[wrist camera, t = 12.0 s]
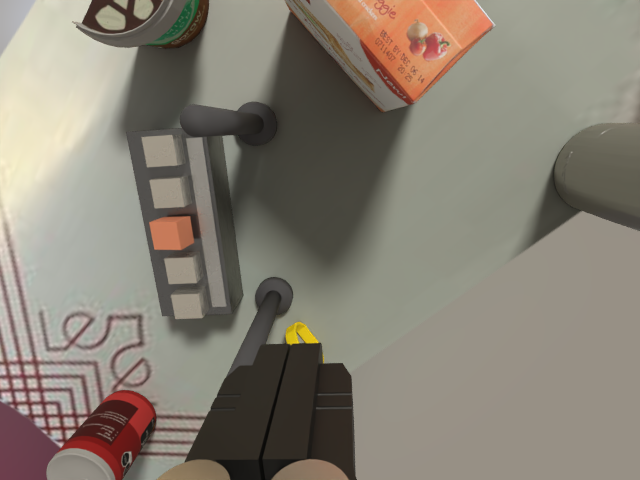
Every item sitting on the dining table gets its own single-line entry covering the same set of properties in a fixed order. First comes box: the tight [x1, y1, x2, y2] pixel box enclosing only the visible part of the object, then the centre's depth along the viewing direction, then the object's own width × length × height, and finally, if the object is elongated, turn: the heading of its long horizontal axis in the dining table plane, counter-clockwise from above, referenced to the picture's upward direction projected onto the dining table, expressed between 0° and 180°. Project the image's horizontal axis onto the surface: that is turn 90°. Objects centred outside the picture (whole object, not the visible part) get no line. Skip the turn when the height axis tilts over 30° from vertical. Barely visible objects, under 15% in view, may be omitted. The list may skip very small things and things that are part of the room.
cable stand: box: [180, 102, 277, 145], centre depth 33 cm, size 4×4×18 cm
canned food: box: [47, 390, 156, 480], centre depth 49 cm, size 8×8×11 cm
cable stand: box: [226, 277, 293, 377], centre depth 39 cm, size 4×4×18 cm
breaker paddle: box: [149, 216, 194, 250], centre depth 39 cm, size 3×3×2 cm
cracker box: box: [285, 0, 495, 112], centre depth 29 cm, size 14×6×21 cm, turn 44°
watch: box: [285, 322, 324, 364], centre depth 46 cm, size 6×3×6 cm, turn 35°
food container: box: [72, 0, 209, 49], centre depth 35 cm, size 12×6×10 cm, turn 145°
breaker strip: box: [126, 128, 243, 319], centre depth 42 cm, size 8×20×7 cm, turn 4°
